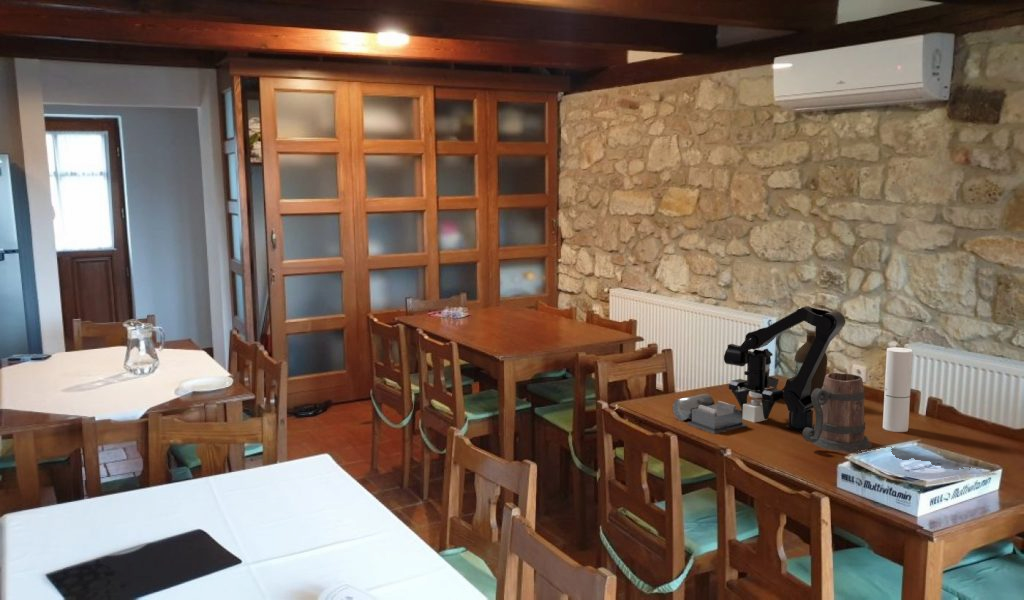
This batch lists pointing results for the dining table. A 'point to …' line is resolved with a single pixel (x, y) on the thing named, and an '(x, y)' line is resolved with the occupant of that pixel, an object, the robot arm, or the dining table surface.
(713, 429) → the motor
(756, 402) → the white knobbed block
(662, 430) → the dining table surface
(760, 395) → the coffee cup
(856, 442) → the tankard
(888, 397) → the cylindrical container
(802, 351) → the olive oil
